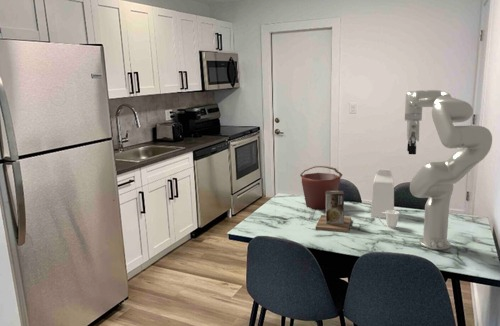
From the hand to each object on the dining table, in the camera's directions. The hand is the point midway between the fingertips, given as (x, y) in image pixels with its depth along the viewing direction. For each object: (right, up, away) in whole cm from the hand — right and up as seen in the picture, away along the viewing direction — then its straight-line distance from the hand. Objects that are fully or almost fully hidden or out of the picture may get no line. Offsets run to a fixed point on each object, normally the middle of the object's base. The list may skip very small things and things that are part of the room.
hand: (411, 152), depth 187 cm
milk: (-4, -34, +29) cm, 45 cm away
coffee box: (-34, -36, +14) cm, 52 cm away
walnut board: (-35, -37, +14) cm, 53 cm away
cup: (-8, -38, +9) cm, 40 cm away
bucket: (-36, -32, +48) cm, 68 cm away
